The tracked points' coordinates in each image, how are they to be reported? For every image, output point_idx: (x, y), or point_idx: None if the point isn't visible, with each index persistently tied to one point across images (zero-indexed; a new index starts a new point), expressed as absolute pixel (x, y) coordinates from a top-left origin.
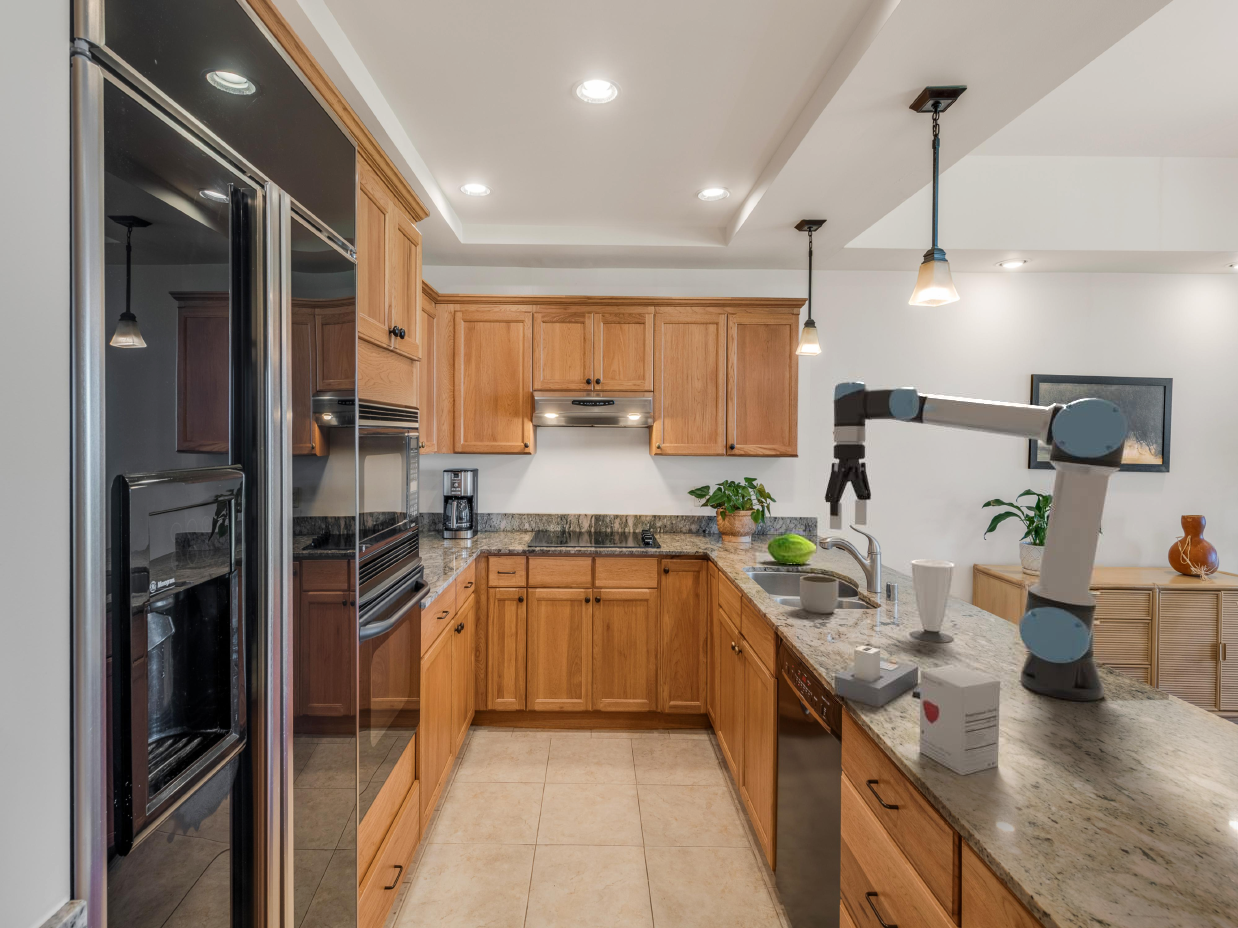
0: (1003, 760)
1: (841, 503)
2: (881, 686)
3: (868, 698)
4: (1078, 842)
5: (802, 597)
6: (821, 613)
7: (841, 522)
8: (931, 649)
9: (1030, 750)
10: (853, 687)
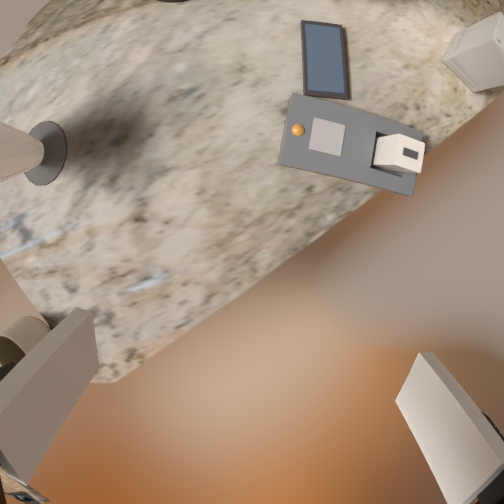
0: (441, 28)
1: (501, 461)
2: (413, 130)
3: None
4: None
5: None
6: (50, 329)
7: (439, 375)
8: (100, 128)
9: (406, 3)
10: None
